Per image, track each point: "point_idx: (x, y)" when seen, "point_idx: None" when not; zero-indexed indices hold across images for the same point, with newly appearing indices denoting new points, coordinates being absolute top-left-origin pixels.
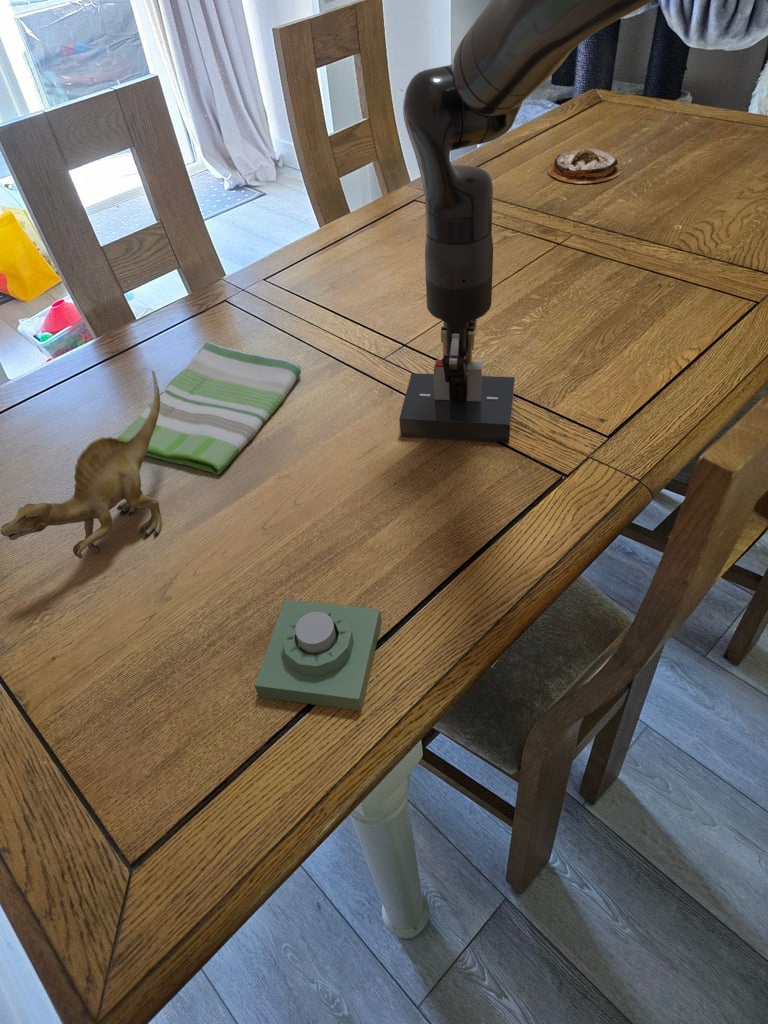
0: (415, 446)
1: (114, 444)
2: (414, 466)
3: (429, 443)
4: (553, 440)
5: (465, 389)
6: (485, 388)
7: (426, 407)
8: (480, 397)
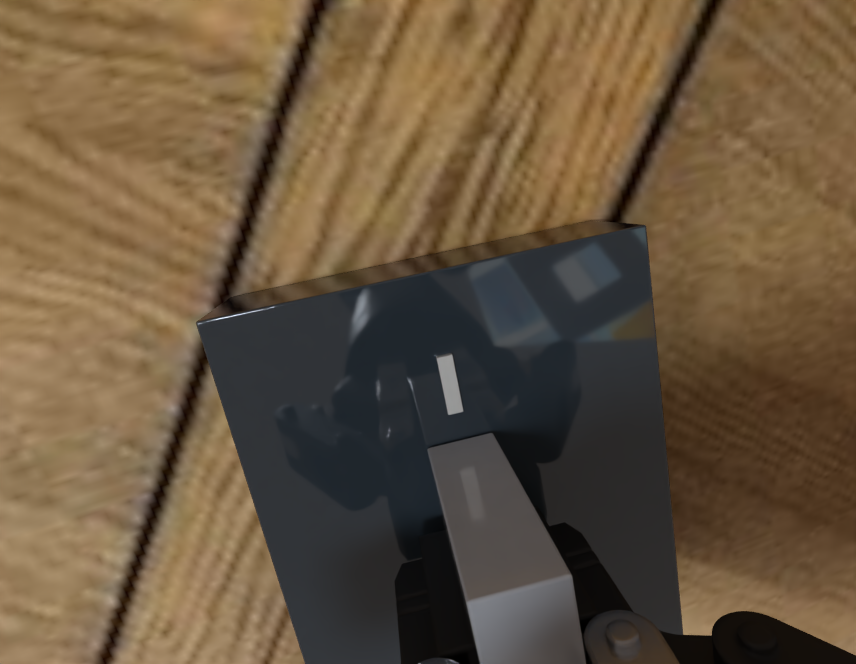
0: (680, 561)
1: None
2: (784, 522)
3: None
4: (525, 8)
5: (565, 556)
6: (365, 446)
7: None
8: (498, 446)
